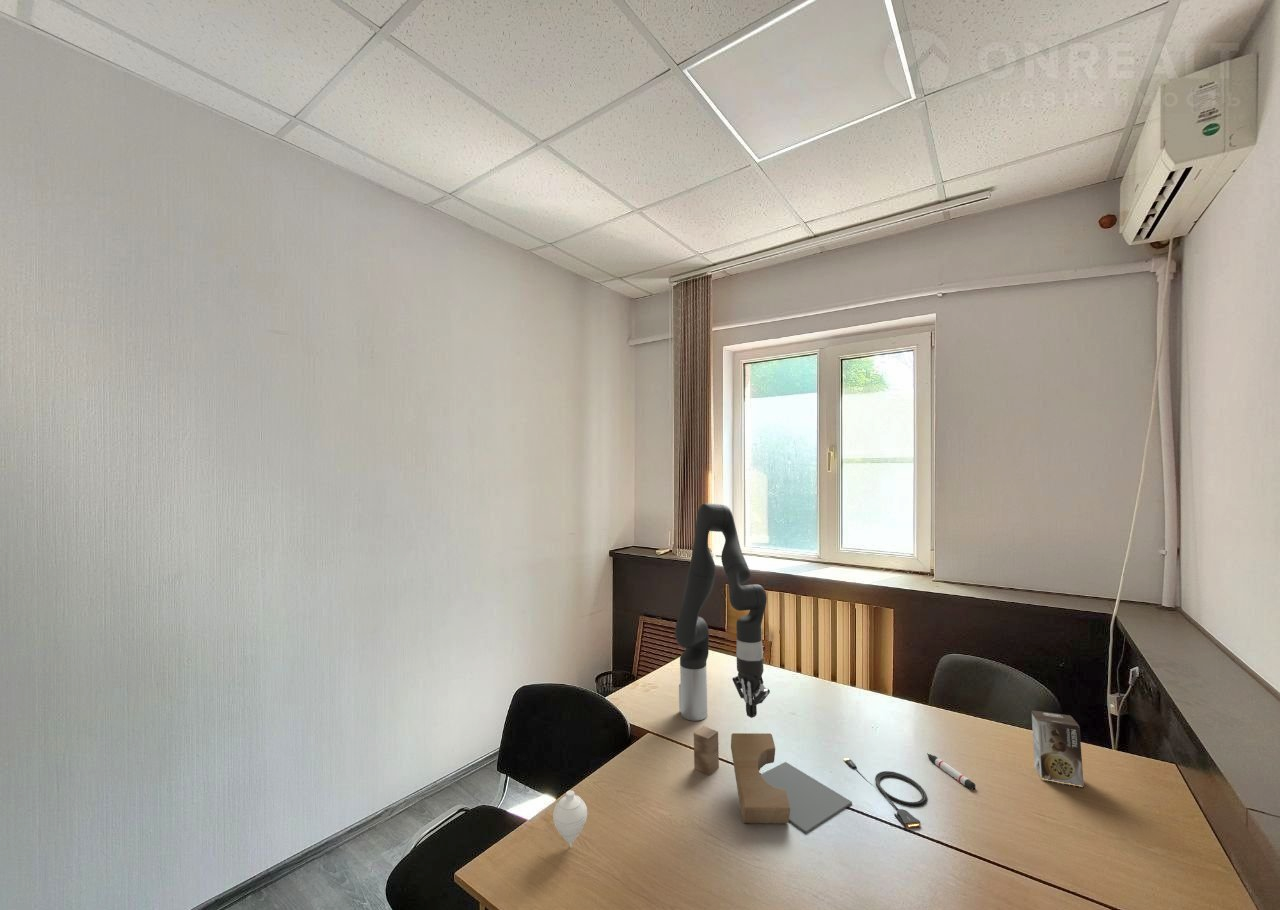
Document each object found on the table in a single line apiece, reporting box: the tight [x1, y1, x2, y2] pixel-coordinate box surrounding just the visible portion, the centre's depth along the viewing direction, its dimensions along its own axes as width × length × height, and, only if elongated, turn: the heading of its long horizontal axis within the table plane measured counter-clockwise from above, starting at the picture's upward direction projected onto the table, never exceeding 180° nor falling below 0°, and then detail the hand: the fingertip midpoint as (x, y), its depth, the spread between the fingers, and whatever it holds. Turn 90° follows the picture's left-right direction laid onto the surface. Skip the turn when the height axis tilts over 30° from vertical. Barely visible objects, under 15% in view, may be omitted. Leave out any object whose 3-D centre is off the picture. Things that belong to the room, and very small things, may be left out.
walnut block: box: [693, 725, 720, 776], centre depth 139 cm, size 5×5×10 cm
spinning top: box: [552, 789, 588, 848], centre depth 110 cm, size 8×8×12 cm
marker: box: [926, 752, 976, 790], centre depth 135 cm, size 15×2×2 cm, turn 12°
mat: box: [760, 761, 853, 834], centre depth 127 cm, size 21×18×1 cm
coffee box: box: [1030, 709, 1085, 787], centre depth 132 cm, size 9×6×16 cm
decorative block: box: [730, 732, 790, 824], centre depth 125 cm, size 11×6×20 cm
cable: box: [843, 757, 928, 830], centre depth 129 cm, size 14×28×2 cm, turn 6°
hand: (751, 716), depth 140 cm, fingers closed
